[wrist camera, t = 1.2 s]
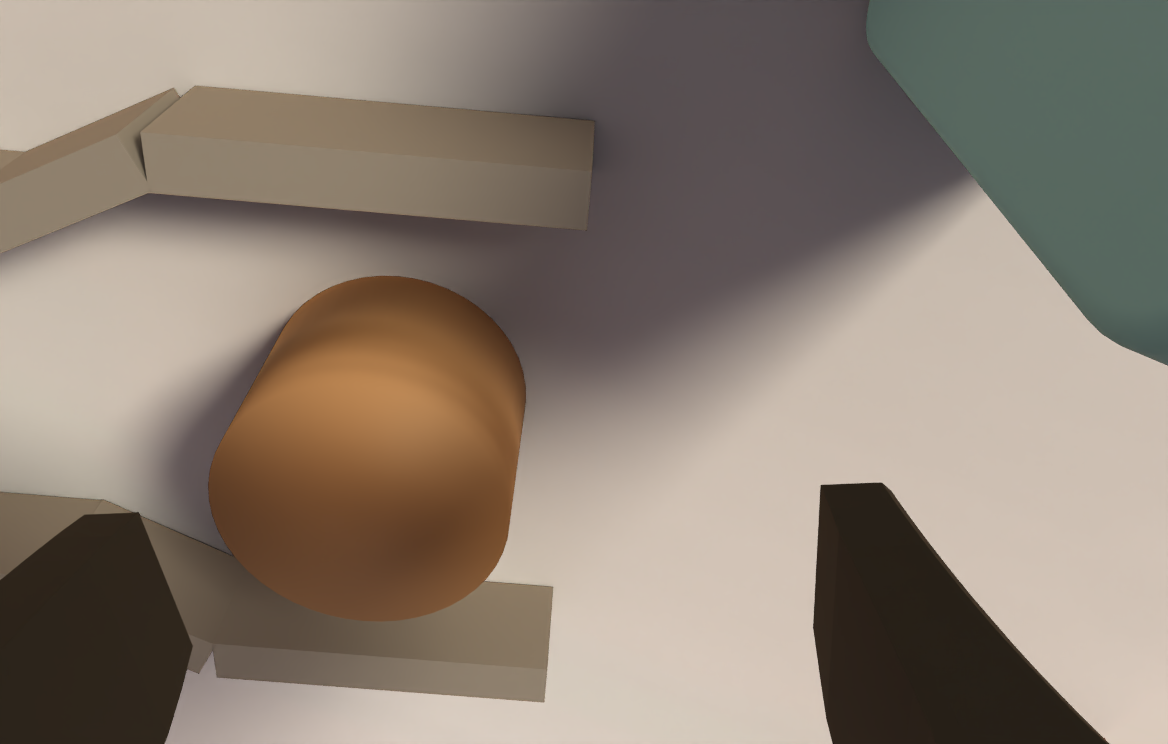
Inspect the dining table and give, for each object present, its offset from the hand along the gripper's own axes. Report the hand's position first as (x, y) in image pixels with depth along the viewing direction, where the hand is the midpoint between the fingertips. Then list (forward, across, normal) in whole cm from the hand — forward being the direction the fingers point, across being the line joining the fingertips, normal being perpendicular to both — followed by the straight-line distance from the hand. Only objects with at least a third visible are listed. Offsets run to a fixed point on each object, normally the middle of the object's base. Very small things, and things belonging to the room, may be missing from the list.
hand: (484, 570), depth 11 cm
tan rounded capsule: (+10, +3, +4) cm, 11 cm away
